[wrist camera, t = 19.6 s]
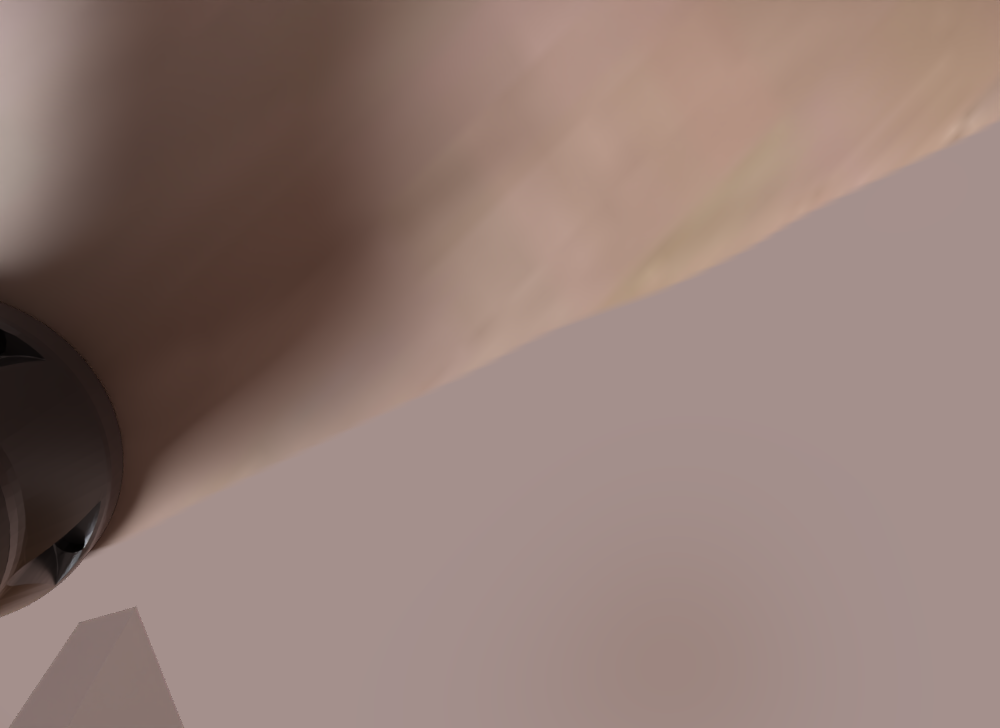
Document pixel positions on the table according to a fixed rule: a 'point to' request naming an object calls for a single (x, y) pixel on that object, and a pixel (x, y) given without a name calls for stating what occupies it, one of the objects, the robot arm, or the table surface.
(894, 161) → the table surface
